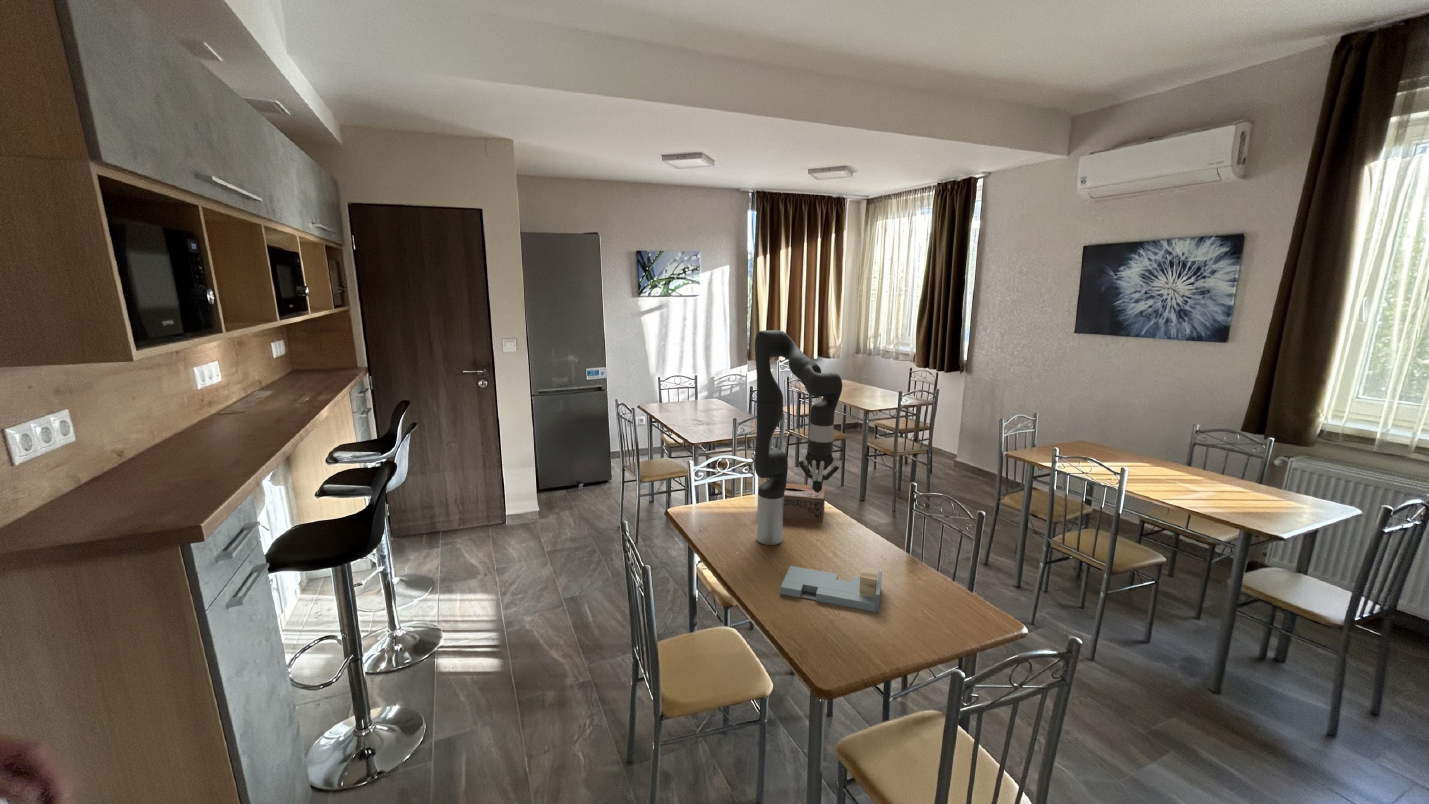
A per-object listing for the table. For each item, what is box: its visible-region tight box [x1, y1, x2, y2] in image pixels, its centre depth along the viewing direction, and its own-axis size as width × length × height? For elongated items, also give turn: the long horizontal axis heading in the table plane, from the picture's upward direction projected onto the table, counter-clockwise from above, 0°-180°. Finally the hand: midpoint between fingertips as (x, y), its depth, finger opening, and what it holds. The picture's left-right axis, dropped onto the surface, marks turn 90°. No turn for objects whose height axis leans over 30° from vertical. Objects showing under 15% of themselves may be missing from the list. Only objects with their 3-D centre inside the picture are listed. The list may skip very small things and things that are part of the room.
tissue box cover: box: [756, 481, 826, 523], centre depth 229 cm, size 26×14×10 cm, turn 77°
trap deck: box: [779, 565, 883, 613], centre depth 169 cm, size 14×28×5 cm, turn 71°
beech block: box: [859, 569, 878, 596], centre depth 165 cm, size 4×4×5 cm
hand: (817, 491), depth 175 cm, fingers closed
